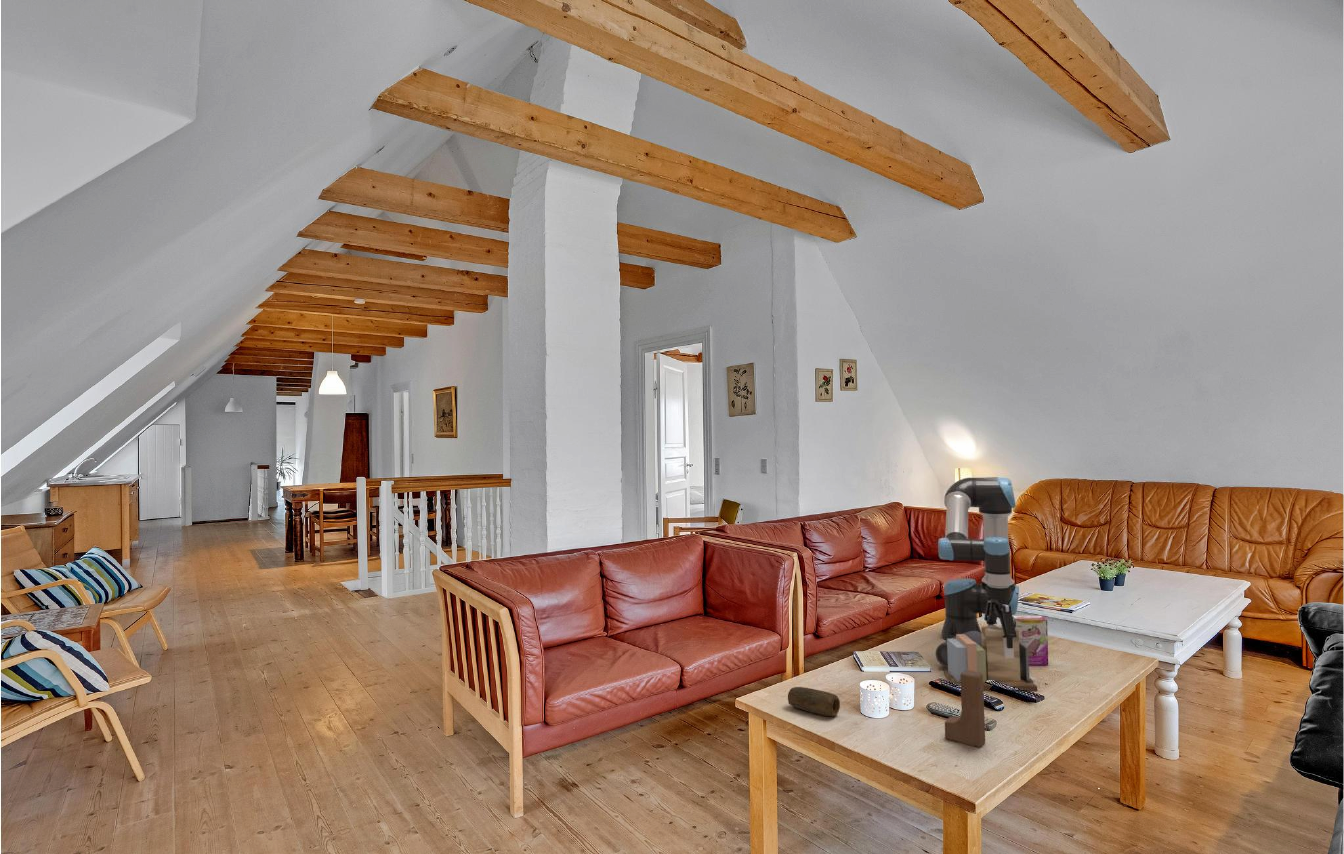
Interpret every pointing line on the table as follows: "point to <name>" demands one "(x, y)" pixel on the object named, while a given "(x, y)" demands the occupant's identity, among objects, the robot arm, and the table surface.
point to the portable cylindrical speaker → (814, 701)
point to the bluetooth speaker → (942, 648)
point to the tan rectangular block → (1000, 655)
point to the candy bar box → (1033, 637)
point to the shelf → (1016, 684)
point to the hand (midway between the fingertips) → (1000, 651)
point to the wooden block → (969, 712)
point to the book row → (965, 656)
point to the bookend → (1024, 663)
